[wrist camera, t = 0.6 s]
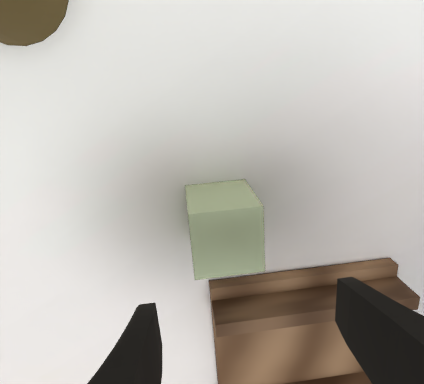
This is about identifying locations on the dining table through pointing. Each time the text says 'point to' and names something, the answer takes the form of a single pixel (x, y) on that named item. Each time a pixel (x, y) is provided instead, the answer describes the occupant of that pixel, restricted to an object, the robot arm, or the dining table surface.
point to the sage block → (225, 229)
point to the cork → (29, 20)
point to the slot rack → (293, 324)
